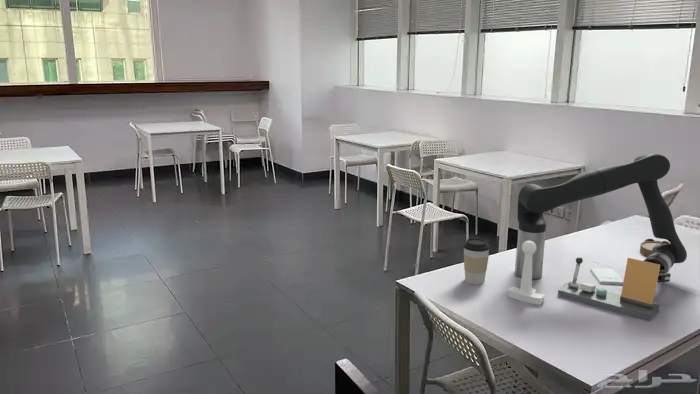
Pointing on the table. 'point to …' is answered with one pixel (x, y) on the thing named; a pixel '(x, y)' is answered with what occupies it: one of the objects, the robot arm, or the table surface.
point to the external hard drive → (607, 276)
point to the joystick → (527, 279)
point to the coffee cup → (475, 260)
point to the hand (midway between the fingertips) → (640, 280)
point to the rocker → (587, 287)
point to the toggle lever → (576, 274)
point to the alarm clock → (650, 246)
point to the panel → (609, 302)
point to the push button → (601, 292)
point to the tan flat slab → (640, 282)
